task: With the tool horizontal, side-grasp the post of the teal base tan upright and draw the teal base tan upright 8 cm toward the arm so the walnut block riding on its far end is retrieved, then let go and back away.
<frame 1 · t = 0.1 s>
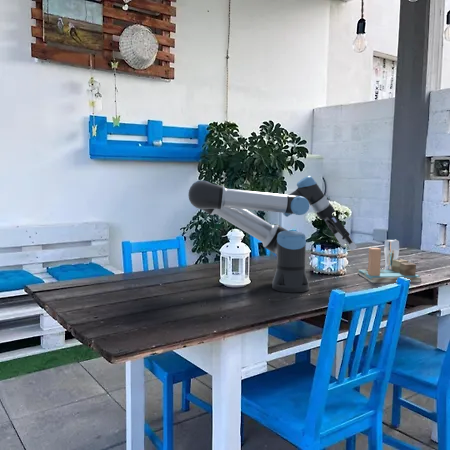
hand: (349, 246, 208), 15 cm above the table, tool tilted 35°, fingers open, 13 cm apart
oak block: (399, 270, 220), point 2 cm above the table, touching lane board
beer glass: (390, 270, 232), on the table
teal base tan upright: (392, 262, 210), point 8 cm above the table, slide at 0.0 cm, touching walnut block
walnut block: (407, 274, 211), point 2 cm above the table, touching teal base tan upright
lane board: (388, 277, 216), on the table
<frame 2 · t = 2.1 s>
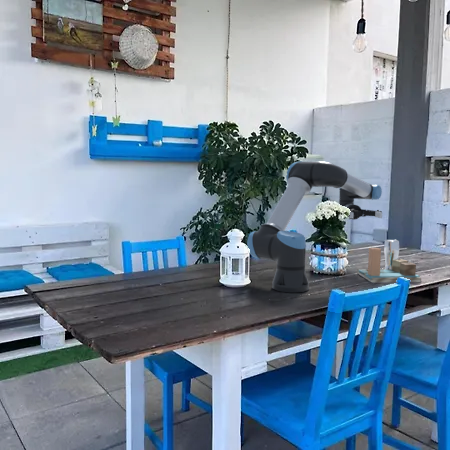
hand: (367, 215, 219), 28 cm above the table, tool horizontal, fingers open, 13 cm apart
nothing on the table moved.
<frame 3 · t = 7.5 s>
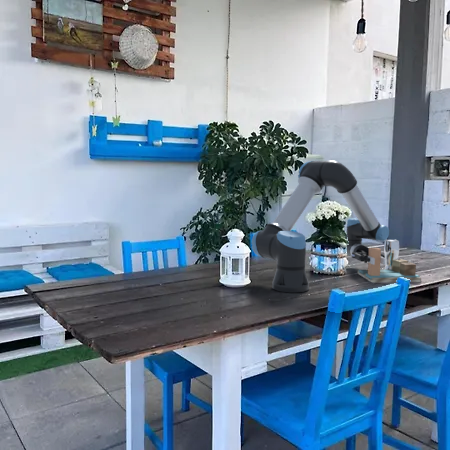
hand: (379, 261, 204), 10 cm above the table, tool horizontal, fingers closed on teal base tan upright, 4 cm apart
teal base tan upright: (392, 262, 210), point 8 cm above the table, slide at 0.0 cm, touching gripper, walnut block
everything else where it was.
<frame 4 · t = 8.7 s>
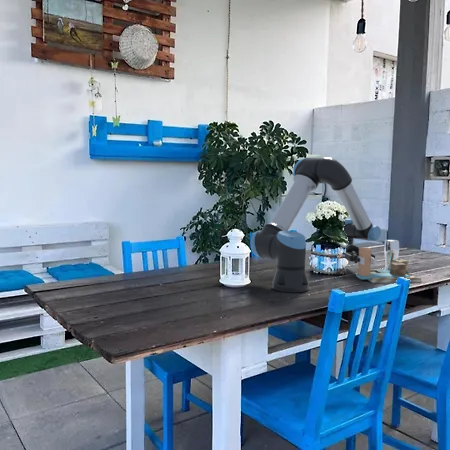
hand: (368, 261, 204), 10 cm above the table, tool horizontal, fingers closed on teal base tan upright, 4 cm apart
teal base tan upright: (383, 262, 210), point 8 cm above the table, slide at 4.5 cm, touching gripper, walnut block
walnut block: (397, 274, 211), point 2 cm above the table, touching teal base tan upright
everything else where it was.
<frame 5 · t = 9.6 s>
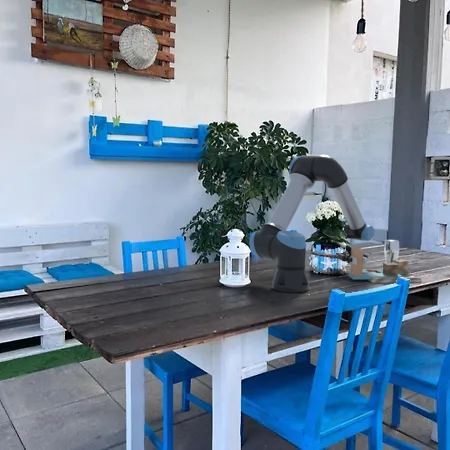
hand: (361, 261, 204), 9 cm above the table, tool horizontal, fingers closed on teal base tan upright, 4 cm apart
teal base tan upright: (375, 262, 210), point 8 cm above the table, slide at 8.0 cm, touching gripper, walnut block
walnut block: (390, 274, 211), point 2 cm above the table, touching teal base tan upright
everything else where it was.
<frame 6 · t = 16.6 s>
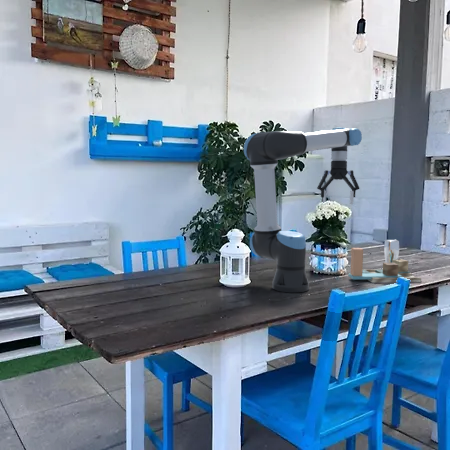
hand: (337, 204, 229), 33 cm above the table, tool pointing down, fingers open, 13 cm apart
teal base tan upright: (375, 262, 210), point 8 cm above the table, slide at 8.0 cm, touching walnut block
everything else where it was.
at the end: teal base tan upright slide at 8.0 cm; walnut block inside the target area (0.0 cm from its centre), point 2.4 cm above the table; walnut block tilted 0° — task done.
